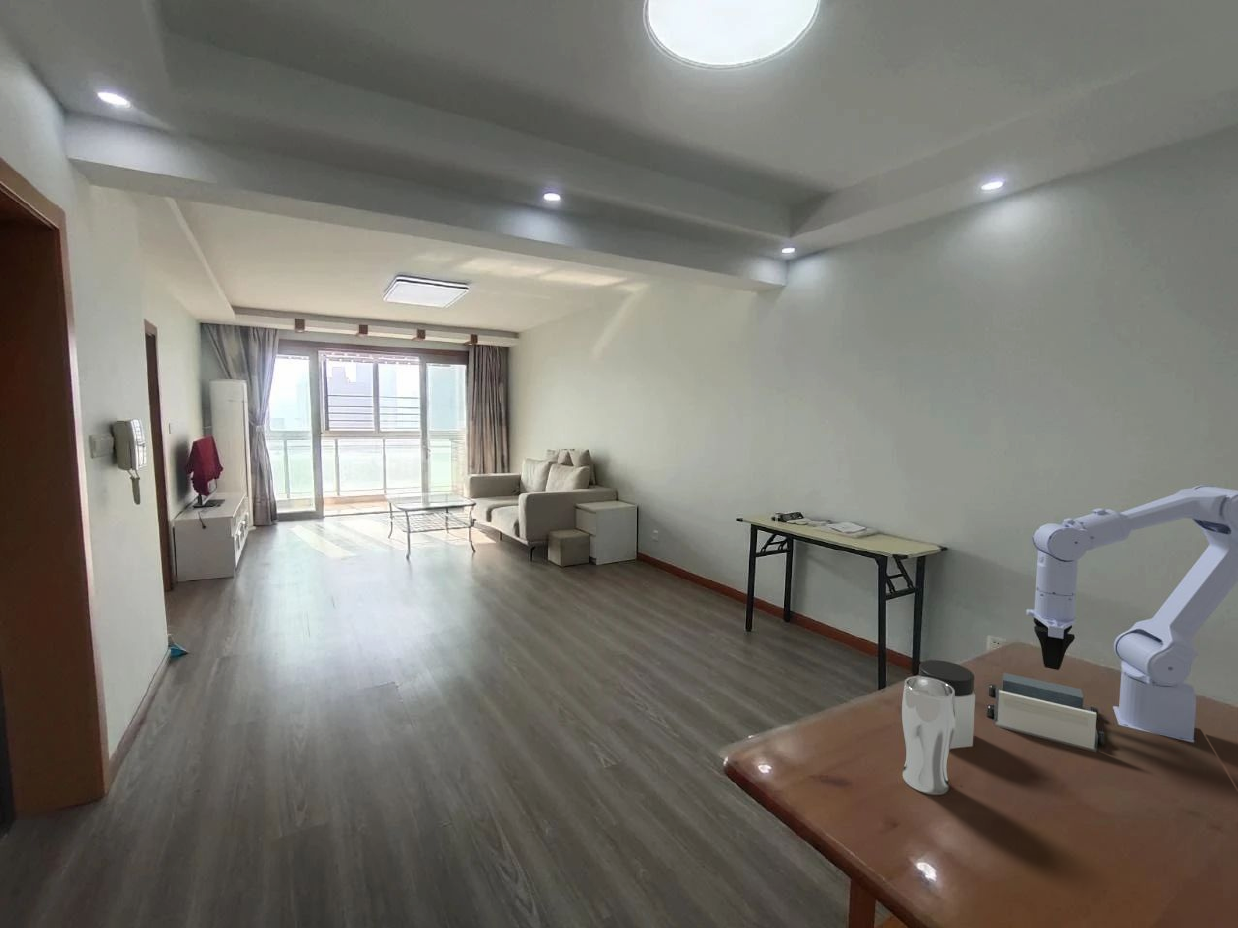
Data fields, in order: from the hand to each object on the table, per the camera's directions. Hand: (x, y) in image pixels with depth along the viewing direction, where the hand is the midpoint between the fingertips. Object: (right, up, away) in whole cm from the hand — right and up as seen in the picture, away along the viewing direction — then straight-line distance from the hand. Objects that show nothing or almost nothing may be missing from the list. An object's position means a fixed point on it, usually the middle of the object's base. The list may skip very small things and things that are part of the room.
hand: (1051, 663), depth 101 cm
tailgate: (-7, -10, -7) cm, 14 cm away
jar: (-23, -11, -6) cm, 26 cm away
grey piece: (-2, -10, 0) cm, 10 cm away
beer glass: (-33, -12, -18) cm, 39 cm away
